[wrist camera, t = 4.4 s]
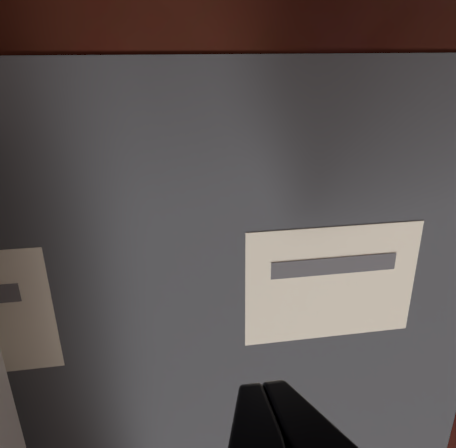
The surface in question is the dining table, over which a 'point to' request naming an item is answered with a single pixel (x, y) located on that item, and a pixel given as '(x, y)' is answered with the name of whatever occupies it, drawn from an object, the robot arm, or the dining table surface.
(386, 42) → the dining table surface
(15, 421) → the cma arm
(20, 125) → the label mat
